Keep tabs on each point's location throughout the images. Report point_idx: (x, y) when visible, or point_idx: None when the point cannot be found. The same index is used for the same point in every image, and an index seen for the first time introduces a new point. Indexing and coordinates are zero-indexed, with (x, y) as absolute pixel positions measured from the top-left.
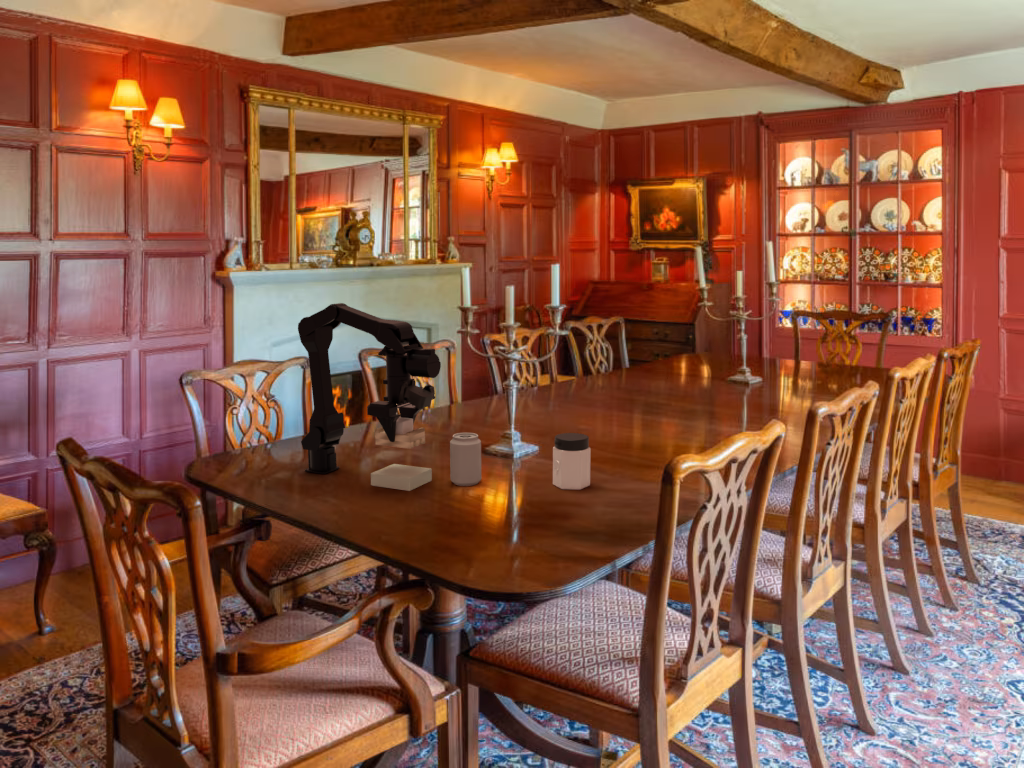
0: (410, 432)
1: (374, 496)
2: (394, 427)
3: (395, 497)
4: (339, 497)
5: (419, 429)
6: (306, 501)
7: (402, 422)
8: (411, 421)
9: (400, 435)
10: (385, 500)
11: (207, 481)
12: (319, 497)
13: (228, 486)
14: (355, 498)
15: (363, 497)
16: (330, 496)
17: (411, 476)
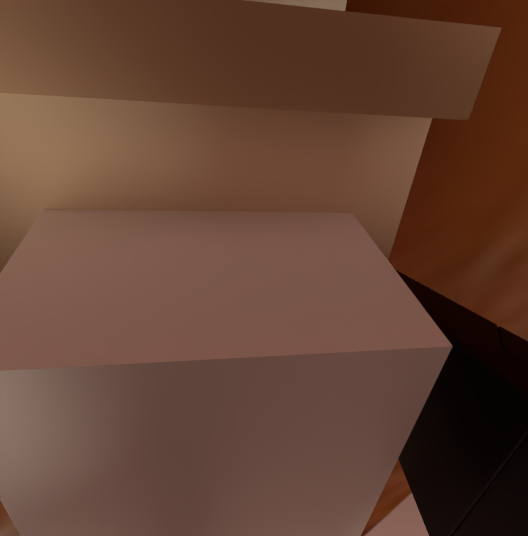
0: (445, 55)
1: (444, 130)
2: (500, 343)
3: (453, 11)
4: (468, 248)
5: (100, 4)
6: (515, 307)
7: (446, 343)
8: (49, 324)
9: (400, 216)
10: (506, 37)
11: (370, 530)
12: (471, 301)
13: (397, 494)
14: (478, 189)
15: (463, 167)
16: (458, 280)
17: (293, 5)
